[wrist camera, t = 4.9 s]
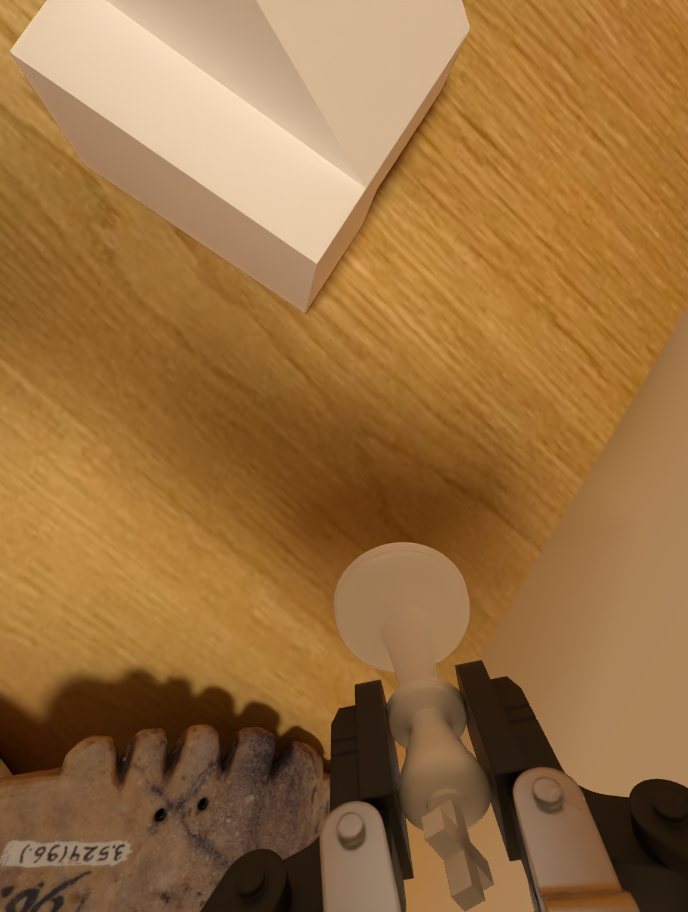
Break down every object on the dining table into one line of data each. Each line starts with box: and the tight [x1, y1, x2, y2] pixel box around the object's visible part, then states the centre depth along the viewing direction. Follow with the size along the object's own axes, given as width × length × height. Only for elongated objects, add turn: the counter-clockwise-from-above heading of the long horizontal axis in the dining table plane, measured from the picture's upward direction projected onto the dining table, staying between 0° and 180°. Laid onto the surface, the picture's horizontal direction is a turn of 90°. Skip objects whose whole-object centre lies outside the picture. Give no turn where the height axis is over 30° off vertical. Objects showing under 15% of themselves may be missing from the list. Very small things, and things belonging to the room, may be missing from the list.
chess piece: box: [333, 542, 494, 911], centre depth 14 cm, size 5×5×10 cm
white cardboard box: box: [9, 0, 470, 313], centre depth 19 cm, size 11×11×12 cm
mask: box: [0, 724, 330, 912], centre depth 27 cm, size 15×4×25 cm
